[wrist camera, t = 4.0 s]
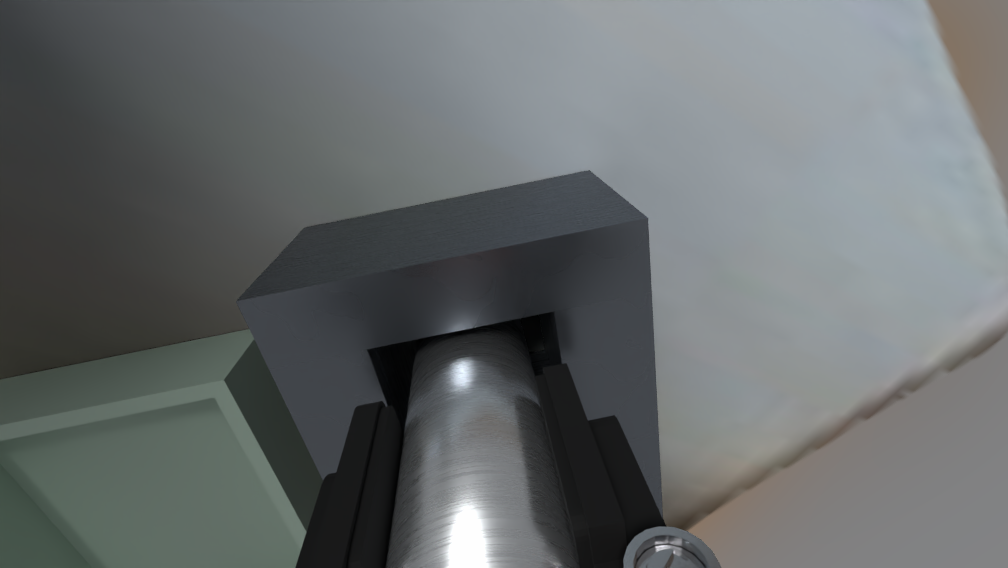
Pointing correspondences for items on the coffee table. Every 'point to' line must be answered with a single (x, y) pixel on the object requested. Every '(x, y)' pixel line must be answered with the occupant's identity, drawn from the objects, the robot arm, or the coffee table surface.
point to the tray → (154, 462)
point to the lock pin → (477, 460)
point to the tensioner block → (463, 304)
